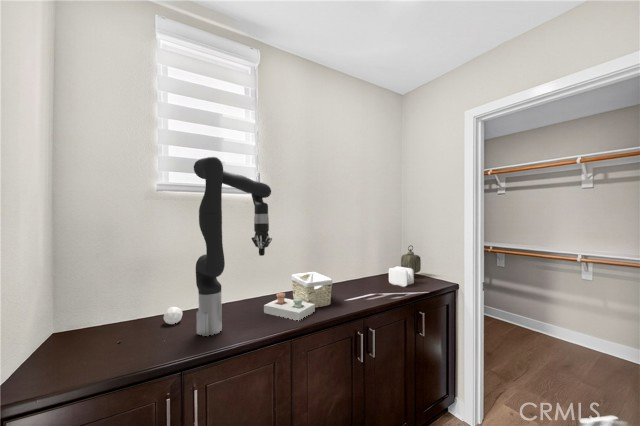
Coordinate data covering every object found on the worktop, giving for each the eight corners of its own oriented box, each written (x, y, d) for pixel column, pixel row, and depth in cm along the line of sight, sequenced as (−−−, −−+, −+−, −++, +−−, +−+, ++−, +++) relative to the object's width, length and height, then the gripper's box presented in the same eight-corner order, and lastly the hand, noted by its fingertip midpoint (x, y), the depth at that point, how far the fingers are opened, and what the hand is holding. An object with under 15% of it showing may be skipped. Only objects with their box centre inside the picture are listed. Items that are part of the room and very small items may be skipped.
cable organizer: (387, 283, 191) (387, 267, 191) (395, 281, 198) (395, 265, 199) (406, 287, 180) (406, 270, 180) (414, 285, 187) (414, 268, 187)
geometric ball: (169, 331, 123) (156, 320, 120) (174, 318, 130) (163, 308, 127) (183, 323, 123) (171, 311, 120) (188, 311, 130) (176, 300, 127)
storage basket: (290, 298, 161) (290, 273, 161) (314, 294, 168) (314, 270, 168) (307, 310, 140) (306, 282, 140) (333, 305, 147) (333, 278, 147)
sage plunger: (299, 315, 132) (299, 301, 132) (291, 313, 134) (291, 300, 134) (304, 312, 136) (304, 298, 136) (297, 311, 138) (296, 297, 138)
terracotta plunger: (281, 309, 137) (281, 295, 137) (274, 307, 140) (274, 294, 140) (287, 306, 141) (287, 293, 141) (280, 305, 144) (280, 292, 144)
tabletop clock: (411, 275, 217) (410, 244, 217) (421, 277, 210) (421, 245, 210) (401, 278, 208) (400, 245, 208) (411, 280, 201) (411, 246, 201)
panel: (298, 321, 126) (298, 312, 126) (264, 312, 137) (263, 305, 137) (314, 311, 138) (314, 304, 138) (281, 304, 149) (281, 297, 149)
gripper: (247, 222, 141) (247, 255, 141) (266, 222, 134) (266, 257, 134) (257, 222, 147) (257, 253, 147) (275, 222, 141) (276, 255, 140)
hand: (261, 255), depth 141 cm, fingers closed
